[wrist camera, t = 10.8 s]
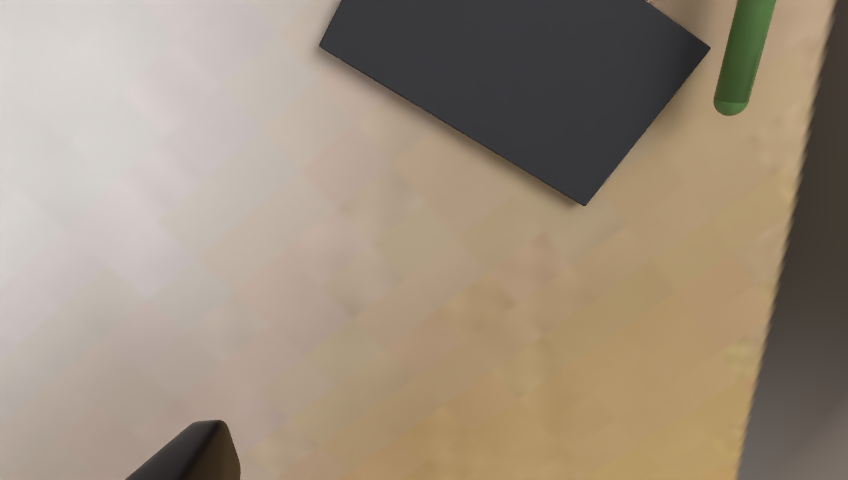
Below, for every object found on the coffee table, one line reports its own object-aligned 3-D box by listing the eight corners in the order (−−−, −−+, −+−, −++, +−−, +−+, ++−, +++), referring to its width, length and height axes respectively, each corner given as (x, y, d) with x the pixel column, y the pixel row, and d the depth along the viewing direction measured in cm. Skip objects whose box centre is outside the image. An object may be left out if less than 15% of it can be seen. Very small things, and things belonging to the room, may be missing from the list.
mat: (706, 46, 18) (712, 48, 17) (582, 202, 20) (585, 207, 20) (421, -158, 15) (420, -161, 15) (320, 44, 18) (318, 46, 18)
